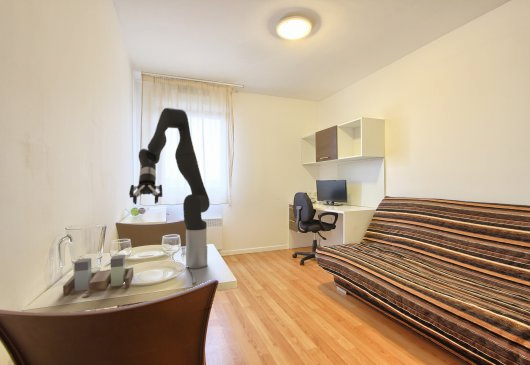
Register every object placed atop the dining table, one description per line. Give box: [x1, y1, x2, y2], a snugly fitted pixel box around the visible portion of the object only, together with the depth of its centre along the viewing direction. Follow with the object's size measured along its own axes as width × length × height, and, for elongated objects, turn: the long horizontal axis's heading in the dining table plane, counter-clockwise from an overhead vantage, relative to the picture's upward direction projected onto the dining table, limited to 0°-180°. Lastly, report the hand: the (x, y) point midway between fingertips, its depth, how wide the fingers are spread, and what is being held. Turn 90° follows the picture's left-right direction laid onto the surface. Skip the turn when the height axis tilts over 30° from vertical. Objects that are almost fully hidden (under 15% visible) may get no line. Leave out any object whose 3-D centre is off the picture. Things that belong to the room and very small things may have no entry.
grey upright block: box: [110, 254, 126, 286], centre depth 94 cm, size 4×4×10 cm
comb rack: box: [62, 267, 134, 297], centre depth 93 cm, size 20×11×4 cm, turn 110°
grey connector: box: [73, 257, 92, 291], centre depth 91 cm, size 4×4×10 cm
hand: (145, 202), depth 117 cm, fingers open, 8 cm apart
